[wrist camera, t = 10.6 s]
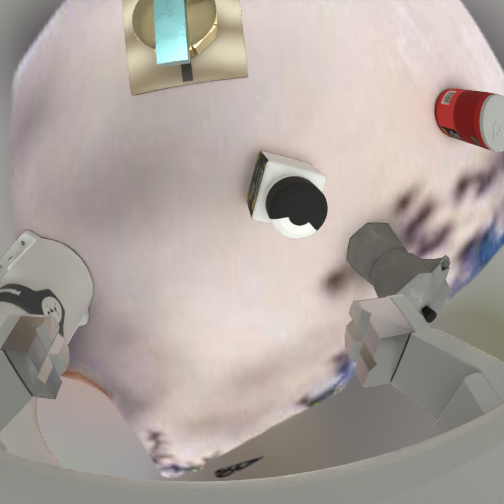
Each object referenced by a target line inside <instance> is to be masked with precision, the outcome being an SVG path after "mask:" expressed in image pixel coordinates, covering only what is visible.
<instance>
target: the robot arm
mask: <svg viewBox="0 0 504 504" xmlns="http://www.w3.org/2000/svg"><path fill="white" fill-rule="evenodd" d="M23 241H24V242H25V244H24V243H23ZM92 296H93V283H92V279H91V275H90V273H89V271H88V269H87V267H86V265H85V264H84V262H83V261H82V260H81V258H80V257H79V256H78V255H77V254H76V253H75V252H74V251H72V250H71V249H70V248H68V247H67V246H65V245H64V244H62V243H59V242H57V241H53V240H49V239H44V238H41V237H39V236H38V235H36V234H35V233H33V232H31V231H29V230H25V231H24V232H23V233H22V234H21V235H20V236H19V238H18V239H17V240H16V241H15V242H14V243H13V245H12V246H11V247H10V248H9V249H8V251H7V252H6V253H5V255H4V256H3V257H2V258H1V259H0V504H504V363H503V362H502V361H501V360H499V359H497V358H495V357H493V356H491V355H489V354H487V353H485V352H483V351H481V350H479V349H477V348H475V347H473V346H471V345H469V344H467V343H465V342H463V341H461V340H459V339H457V338H455V337H453V336H451V335H449V334H447V333H445V332H443V331H441V330H438V329H437V328H434V329H431V328H430V326H429V325H428V324H427V322H426V321H425V320H424V318H423V317H422V316H421V315H420V313H419V312H418V311H417V309H416V308H415V307H414V306H413V304H412V303H411V302H410V301H409V299H408V298H407V297H406V296H405V295H403V294H398V295H392V296H386V297H382V298H375V299H367V300H359V301H353V303H352V305H351V307H350V312H349V314H350V316H351V318H352V321H351V322H350V323H349V324H348V325H347V326H346V331H345V347H346V351H347V353H348V356H349V358H350V359H351V360H353V361H354V362H356V363H357V365H356V368H355V371H356V374H357V376H358V378H359V380H360V382H361V385H362V387H363V388H366V387H371V386H376V385H381V384H386V383H391V385H393V386H394V387H395V388H396V389H398V390H399V391H401V392H402V393H403V394H404V395H406V396H407V397H408V398H409V399H411V400H412V401H413V402H415V403H416V404H417V405H419V406H420V407H421V408H422V409H424V410H425V411H426V412H428V413H429V414H430V415H432V416H433V417H434V418H435V419H437V421H436V422H435V424H434V425H433V426H432V428H431V429H430V430H429V432H428V434H427V437H428V439H427V440H425V441H422V442H419V443H416V444H414V445H411V446H408V447H405V448H402V449H399V450H396V451H393V452H389V453H386V454H383V455H380V456H376V457H373V458H369V459H366V460H361V461H357V462H354V463H350V464H345V465H341V466H337V467H332V468H327V469H322V470H317V471H311V472H305V473H299V474H293V475H286V476H279V477H271V478H261V479H250V480H236V481H217V482H216V481H214V482H175V481H155V480H141V479H130V478H122V477H113V476H106V475H99V474H93V473H87V472H81V471H77V470H72V469H67V468H63V466H62V465H61V463H60V462H59V461H58V460H57V458H56V457H55V456H54V455H53V453H52V452H51V450H50V449H49V447H48V446H47V444H46V442H45V441H44V438H43V436H42V434H41V431H40V428H39V425H38V420H37V414H36V402H37V397H41V398H48V399H56V396H57V393H58V391H59V388H60V386H61V383H62V381H61V378H60V375H61V374H63V373H64V372H65V371H66V370H67V367H68V365H69V357H70V352H69V348H68V343H69V341H70V339H71V338H72V336H73V334H74V333H75V331H76V329H77V328H78V326H84V325H86V323H87V322H88V320H89V314H88V307H89V304H90V302H91V300H92Z"/></svg>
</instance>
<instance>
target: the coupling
mask: <svg viewBox="0 0 504 504" xmlns="http://www.w3.org/2000/svg"><path fill="white" fill-rule="evenodd" d="M132 25H133V29H134V32H135V36H136V37H137V38H136V39H138V40H139V41H140V42H142V43H143V44H145V45H146V46H148V47H149V48H150V49H152V50H153V51H155V52H156V56H157V64H158V65H160V66H162V67H168V66H174V65H181V64H188V63H191V61H190V58H196V54H197V55H198V56H200V54H201V53H202V52H203V51H204V50H205V49H206V48H207V47H208V46H209V45H210V44H211V43H212V42H213V41H214V40H215V39H216V35H217V12H216V0H139V1H138V2H137V4H136V6H135V8H134V11H133V15H132Z"/></svg>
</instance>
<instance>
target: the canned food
mask: <svg viewBox="0 0 504 504" xmlns="http://www.w3.org/2000/svg"><path fill="white" fill-rule="evenodd" d="M435 115H436V120H437V123H438V125H439V127H440V129H441V130H442V131H443V132H444V133H445V134H446V135H448V136H449V137H452V138H455V139H459V140H462V141H465V142H468V143H471V144H474V145H477V146H480V147H482V148H485V149H488V150H491V151H494V152H502V151H504V96H502V95H499V94H494V93H488V92H480V91H472V90H463V89H448V90H446V91H444V92H443V93H441V94H440V96H439V97H438V100H437V102H436V107H435Z"/></svg>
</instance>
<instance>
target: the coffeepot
mask: <svg viewBox="0 0 504 504" xmlns="http://www.w3.org/2000/svg"><path fill="white" fill-rule="evenodd" d="M347 261H348V262H349V263H350V264H351V265H352V266H353V268H354V269H355V270H356V271H357V272H358V273H359V274H360V275H361V276H362V277H364V278H365V279H366V280H367V281H368V282H369V283H371V284H372V285H373V286H374V289H375V291H376V293H377V296H378V298H382V297H386V296H392V295H398V294H403V295H405V296H406V297H407V298H408V299H409V301H410V302H411V303H412V304H413V306H414V307H415V308H416V309H417V311H418V312H419V313H420V315H421V316H422V317H423V318H424V320H425V321H426V322H427V323H429V322H432V321H433V320H434V319H435V318H436V316H437V315H438V314H439V313H440V312H441V311H442V308H443V305H444V303H445V300H446V298H447V295H448V292H449V289H450V287H449V285H448V283H447V281H446V277H447V274H448V271H449V266H450V260H449V257H448V256H446V255H445V256H444V257H443V258H438V259H421V258H419V257H418V256H416V255H414V254H413V253H408V252H407V251H406V249H405V248H404V246H403V245H402V243H401V242H400V240H399V239H398V237H397V236H396V235H395V233H394V232H393V230H392V229H391V227H390V226H389V224H386V223H368V224H366V225H365V226H364V227H362V228H361V229H360V230H358V231H357V232H356V233H355V234H354V236H353V237H352V238H351V239H350V243H349V247H348V256H347Z"/></svg>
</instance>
